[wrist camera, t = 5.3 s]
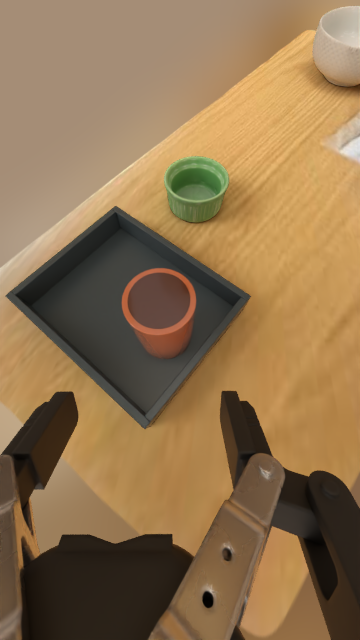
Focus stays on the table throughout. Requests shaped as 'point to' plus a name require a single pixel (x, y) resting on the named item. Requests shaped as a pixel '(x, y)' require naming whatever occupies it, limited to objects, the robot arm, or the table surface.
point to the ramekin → (196, 188)
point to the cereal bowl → (339, 46)
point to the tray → (107, 315)
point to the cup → (160, 311)
